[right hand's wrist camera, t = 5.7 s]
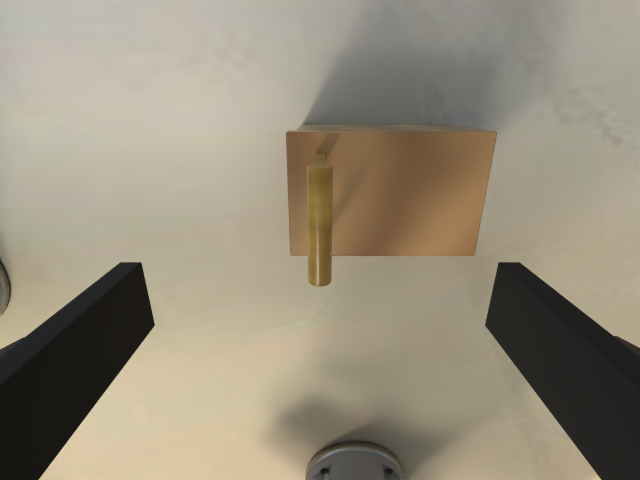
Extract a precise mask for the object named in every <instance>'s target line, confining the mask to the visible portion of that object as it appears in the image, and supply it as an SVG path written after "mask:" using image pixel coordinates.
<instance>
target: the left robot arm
mask: <svg viewBox="0 0 640 480" xmlns="http://www.w3.org/2000/svg"><path fill="white" fill-rule="evenodd" d="M306 480H404V477H403V473H402V468H401V465H400V463H399V461H398V459H397V458H396V457H395V456H394V455H393V454H392V453H391V452H390V451H388V450H387V449H385V448H383V447H381V446H378V445H375V444H371V443H366V442H345V443H340V444H336V445H333V446H330V447H328V448H326V449H324V450H322V451H321V452H319V453H318V454H317V455H316V456H315V457H314V458H313V459H312V460H311V461H310V463H309V465H308V467H307V470H306Z"/></svg>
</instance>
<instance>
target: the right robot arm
mask: <svg viewBox="0 0 640 480" xmlns="http://www.w3.org/2000/svg"><path fill="white" fill-rule="evenodd" d="M8 300H9V284H8V279H7V276H6V274H5V271H4V269H3V267H2V265H1V264H0V315H1V314H2V313H3V312H4V310H5V309H6V306H7V304H8ZM154 326H155V324H154V319H153V314H152V310H151V305H150V300H149V296H148V291H147V287H146V282H145V277H144V273H143V268H142V263H141V262H120V263H119V264H118V265H117V266H115V267H114V268H113V269H111V270H110V271H109V272H108V273H106V274H105V275H104V276H103V277H101V278H100V279H99V280H97V281H96V282H95V283H94V284H92V285H91V286H90V287H89V288H87V289H86V290H85V291H83V292H82V293H81V294H80V295H78V296H77V297H76V298H74V299H73V300H72V301H71V302H69V303H68V304H67V305H66V306H64V307H63V308H62V309H60V310H59V311H58V312H57V313H55V314H54V315H53V316H52V317H50V318H49V319H48V320H46V321H45V322H44V323H43V324H41V325H40V326H39V327H37V328H36V329H35V330H34V331H32V332H31V333H30V334H29V335H27V336H26V337H23V338H21V339H20V340H18V341H16V342H14V343H12V344H10V345H8V346H6V347H4V348H2V349H0V480H39V478H40V477H41V476H42V474H43V473H44V472H45V470H46V469H47V468H48V466H49V465H50V464H51V462H52V461H53V460H54V458H55V457H56V456H57V454H58V453H59V452H60V450H61V449H62V448H63V446H64V445H65V444H66V442H67V441H68V440H69V439H70V437H71V436H72V435H73V433H74V432H75V431H76V429H77V428H78V427H79V425H80V424H81V423H82V421H83V420H84V419H85V417H86V416H87V415H88V413H89V412H90V411H91V409H92V408H93V407H94V405H95V404H96V403H97V401H98V400H99V399H100V397H101V396H102V395H103V393H104V392H105V391H106V389H107V388H108V387H109V385H110V384H111V383H112V381H113V380H114V379H115V377H116V376H117V375H118V373H119V372H120V371H121V370H122V368H123V367H124V366H125V364H126V363H127V362H128V360H129V359H130V358H131V356H132V355H133V354H134V352H135V351H136V350H137V348H138V347H139V346H140V344H141V343H142V342H143V340H144V339H145V338H146V336H147V335H148V334H149V332H150V331H151V330H152V328H153V327H154ZM485 326H486V327H487V328H488V330H489V331H490V332H491V334H492V335H493V336H494V338H495V339H496V340H497V342H498V343H499V344H500V346H501V347H502V348H503V350H504V351H505V352H506V354H507V355H508V356H509V358H510V359H511V360H512V362H513V363H514V364H515V366H516V367H517V368H518V370H519V371H520V372H521V373H522V375H523V376H524V377H525V379H526V380H527V381H528V383H529V384H530V385H531V387H532V388H533V389H534V391H535V392H536V393H537V395H538V396H539V397H540V399H541V400H542V401H543V403H544V404H545V405H546V407H547V408H548V409H549V411H550V412H551V413H552V415H553V416H554V417H555V419H556V420H557V421H558V423H559V424H560V425H561V427H562V428H563V429H564V431H565V432H566V433H567V435H568V436H569V437H570V439H571V440H572V441H573V442H574V444H575V445H576V446H577V448H578V449H579V450H580V452H581V453H582V454H583V456H584V457H585V458H586V460H587V461H588V462H589V464H590V465H591V466H592V468H593V469H594V470H595V472H596V473H597V474H598V476H599V477H600V478H601V480H640V348H639V347H637V346H635V345H633V344H631V343H629V342H627V341H625V340H623V339H621V338H619V337H618V336H613V335H611V334H610V333H609V332H608V331H606V330H605V329H604V328H603V327H601V326H600V325H599V324H597V323H596V322H595V321H594V320H592V319H591V318H590V317H588V316H587V315H586V314H585V313H583V312H582V311H581V310H580V309H578V308H577V307H576V306H574V305H573V304H572V303H571V302H569V301H568V300H567V299H566V298H564V297H563V296H562V295H560V294H559V293H558V292H557V291H555V290H554V289H553V288H551V287H550V286H549V285H548V284H546V283H545V282H544V281H543V280H541V279H540V278H539V277H537V276H536V275H535V274H534V273H532V272H531V271H530V270H529V269H527V268H526V267H525V266H523V265H522V264H521V263H520V262H499V263H498V268H497V273H496V277H495V282H494V286H493V291H492V296H491V300H490V305H489V310H488V314H487V319H486V324H485Z"/></svg>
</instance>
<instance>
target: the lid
mask: <svg viewBox="0 0 640 480" xmlns="http://www.w3.org/2000/svg"><path fill="white" fill-rule="evenodd" d="M496 135H497V132H493V131H287V132H286V147H287V175H288V204H289V232H290V255H291V256H308V281H309V283H310V284H311V285H314V286H326V285H328V284H330V282H331V265H332V256H474V255H475V249H476V244H477V238H478V233H479V227H480V222H481V216H482V211H483V206H484V200H485V195H486V189H487V184H488V178H489V173H490V168H491V162H492V157H493V151H494V146H495V140H496Z"/></svg>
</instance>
